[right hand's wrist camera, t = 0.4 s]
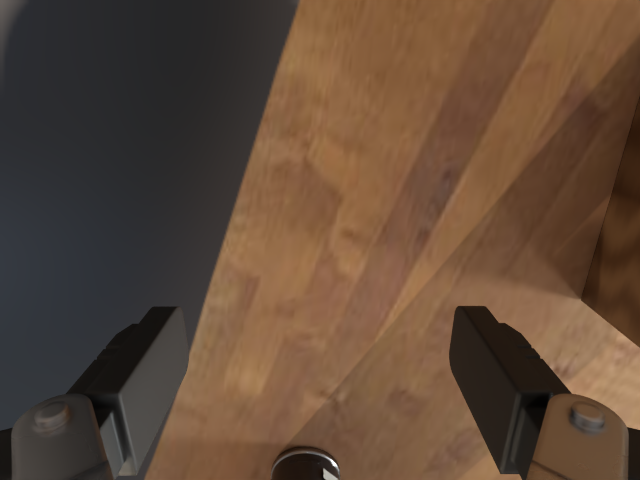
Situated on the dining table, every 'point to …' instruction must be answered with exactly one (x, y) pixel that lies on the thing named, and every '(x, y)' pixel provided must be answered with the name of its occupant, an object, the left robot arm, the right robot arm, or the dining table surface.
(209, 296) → the dining table surface
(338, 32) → the dining table surface
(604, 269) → the bar
